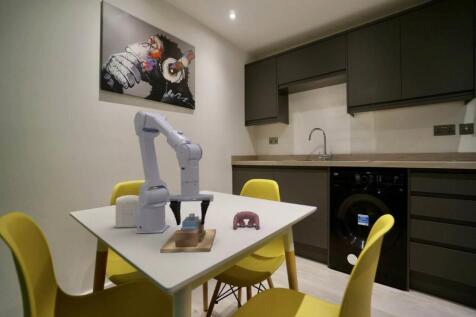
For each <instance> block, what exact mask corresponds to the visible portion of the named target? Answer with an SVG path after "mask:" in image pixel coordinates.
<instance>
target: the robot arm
mask: <svg viewBox="0 0 476 317" xmlns="http://www.w3.org/2000/svg"><path fill="white" fill-rule="evenodd" d="M133 124H134V130H135V135H136V136H137V137H138V141H139V149H140V155H141V161H142V170H143V173H144V182H142V184H141V185H140V186H138V192H139V193H138V196H139V202H140V204H141V205H142V207H140V208H139V209H138V211H137V227H136V232H135V233H136V234H158V233H159V234H160V233H161V234H162V233H163V232H165V231H166V230H167V229H168V228H169V227H170V224H166V205H169V206H168V207H169V208H170V210H171V212H172V214H173V216H174V219H175V221H176V222H175V223H176V226H180V225H182V222H181V221H182V216H181V215H182V214H181V207H182V202H185V203H188V202H200V210H201V211H200V214H201V218H200V219H201V225H204V226H205V223H206V222H205V220H206V215H207V212H208V208H209V206H210V204H211V202H214V194H207V193H202V194H201V193H200V164H199V163H200V160H201V159H202V158H203V149H202V147H201V145H200V144H198V143H193V142H192V140H191V139H189V138H187V137H186V135H184V132H183V131H182V130H175V129H174V128H173V127H172V126H171V125H170V123H169V122H168V120H167V117H166V116H165V115H164V114H162V113H155V112H148V111H143V110H138V111H137V112H136V113H135V114H134V119H133ZM160 134H162V135H164V136H165V138H166V143H167V144H168V145H169V147H171V149H173V150H174V152H175V156H176V159H177V161H178V166H179V168H180V194H171V193H170V190H169V189H168V188H169V187H168V184H167V182H165V181H164V180H163V179H161V178H160V171H159V170H160V169H159V165H158V164H159V163H158V158H157V153H156V148H155V147H156V146H155V138H157V137H158V136H160ZM168 203H169V204H168Z"/></svg>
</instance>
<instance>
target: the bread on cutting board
mask: <svg viewBox="0 0 476 317" xmlns="http://www.w3.org/2000/svg"><path fill="white" fill-rule="evenodd" d="M199 219H200V222H199V236H198V229H195V230H186V231H181V229H177V230H175V231H174V232H173V234H172V235H170V237H169V238H168V239H167V241H166V242H165V243H164V244H163V245H162V246H161V248H160V249H159V252H160V253H163V254H164V253H165V254H166V253H193V252H194V253H202V252H204V253H205V252H208V253H209V252H211V250H212V247H213V243H214V239H215V238H216V233H217V229H216V228H215V229H214V228H212V229H211V228H210V229H205V224H204V225H201V218H199Z"/></svg>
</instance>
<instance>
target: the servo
mask: <svg viewBox="0 0 476 317" xmlns="http://www.w3.org/2000/svg"><path fill="white" fill-rule="evenodd" d="M200 219H201V218H200V216H198V215H197V216H196V213H195V212H194V213H193V212H191V213H189V214H188V216H186V217H185V218H184V219H183V221H182V222H181V225H182V227H180V230H181V231H186V230H195V229H198V236H199V222H200Z"/></svg>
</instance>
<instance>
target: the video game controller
mask: <svg viewBox="0 0 476 317" xmlns="http://www.w3.org/2000/svg"><path fill="white" fill-rule="evenodd" d="M245 220H248V221H247V226H248V227H249V228H252V227H253V226H255V228H256V230H259V229H260V217H259V215H258V214H257V213H256V212H253V211H249V210H248V211H247V210H246V211H240V212H236V214H235V215H233V219H232V228H233V230H236V229H237V227H238V225H239V226H240V227H241V228H244V227H245V226H246V222H245Z"/></svg>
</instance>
